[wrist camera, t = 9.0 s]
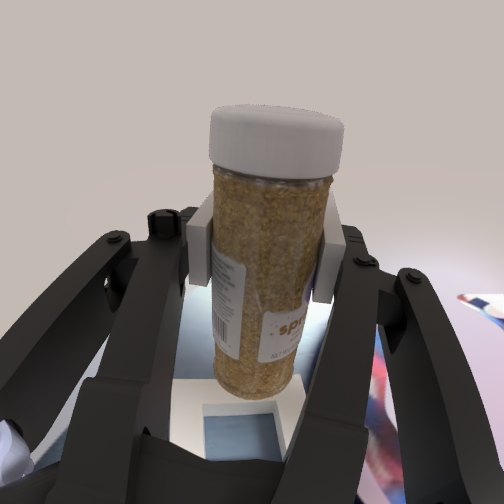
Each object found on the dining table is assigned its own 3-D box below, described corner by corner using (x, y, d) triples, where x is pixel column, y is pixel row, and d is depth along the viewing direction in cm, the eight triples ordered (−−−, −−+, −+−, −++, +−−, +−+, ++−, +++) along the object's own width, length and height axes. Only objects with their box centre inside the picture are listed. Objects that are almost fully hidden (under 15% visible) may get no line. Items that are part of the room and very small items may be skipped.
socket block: (295, 387, 29) (299, 373, 27) (322, 494, 19) (330, 487, 17) (175, 392, 27) (172, 378, 26) (174, 506, 17) (169, 500, 16)
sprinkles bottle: (295, 403, 15) (365, 125, 8) (207, 400, 14) (199, 110, 8) (289, 342, 18) (329, 110, 12) (215, 338, 18) (219, 101, 11)
